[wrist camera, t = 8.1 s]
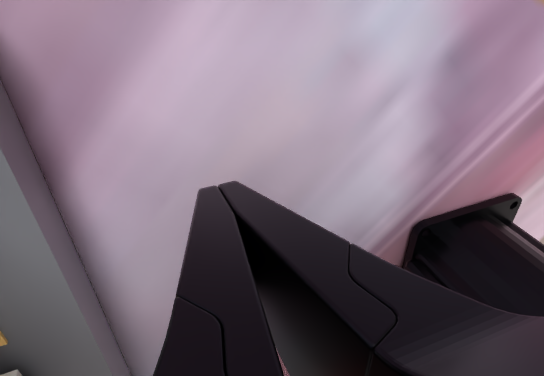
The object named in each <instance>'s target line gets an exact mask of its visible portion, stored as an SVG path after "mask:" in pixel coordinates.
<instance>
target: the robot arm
mask: <svg viewBox="0 0 544 376" xmlns="http://www.w3.org/2000/svg"><path fill="white" fill-rule="evenodd" d="M521 202H522V199H521V198H520V197H519V196H517V195H516V194H514V193H510V194H507V195H503V196H500V197H497V198H494V199H491V200H487V201H484V202H481V203H478V204H474V205H471V206H468V207H465V208H461V209H458V210H455V211H452V212H448V213H445V214H442V215H439V216H435V217H432V218H429V219H426V220H423V221H420V222H419V223H418V224H416V225H415V227H414V228H413V230H412V234H411V238H410V242H409V245H408V249H407V253H406V257H405V261H404V265H403V269H402V268H400V267H398V266H396V265H393V264H391V263H389V262H387V261H385V260H383V259H381V258H379V257H377V256H375V255H373V254H371V253H369V252H367V251H366V250H364V249H362V248H360V247H358V246H356V245H354V244H350V243H349V242H348V241H347V240H345V239H343V238H341V237H339V236H337V235H336V234H334V233H332V232H330V231H328V230H326V229H324V228H322V227H321V226H319V225H317V224H315V223H313V222H311V221H309V220H308V219H306V218H304V217H302V216H300V215H298V214H296V213H295V212H293V211H291V210H289V209H287V208H285V207H283V206H282V205H280V204H278V203H276V202H274V201H272V200H270V199H269V198H267V197H265V196H263V195H261V194H259V193H257V192H256V191H254V190H252V189H250V188H248V187H246V186H244V185H243V184H241V183H239V182H237V181H232V182H227V183H223V184H220V185H219V186H218V187H217V186H210V187H206V188H201V189H199V191H198V194H197V199H196V204H195V208H194V213H193V218H192V222H191V227H190V232H189V236H188V241H187V246H186V250H185V255H184V260H183V264H182V269H181V274H180V278H179V283H178V288H177V292H176V298H175V301H174V305H173V310H172V315H171V319H170V322H169V326H168V330H167V334H166V338H165V341H164V344H163V347H162V350H161V353H160V356H159V359H158V362H157V365H156V368H155V371H154V374H153V376H284V374H283V370H282V367H281V364H280V361H279V357H278V354H277V351H278V353H279V355H280V357H281V359H282V361H283V363H284V365H285V367H286V369H287V371H288V373H289V375H290V376H544V245H543V244H542V243H541V242H539V241H538V240H536V239H535V238H534V237H532V236H531V235H529V234H528V233H527V232H525V231H524V230H522V229H521V228H520V227H518V226H517V225H515V224H514V223H513V220H514V218H515V215H516V213H517V211H518V209H519V207H520V204H521ZM276 349H277V351H276Z"/></svg>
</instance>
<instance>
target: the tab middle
mask: <svg viewBox="0 0 544 376" xmlns="http://www.w3.org/2000/svg"><path fill="white" fill-rule="evenodd" d="M0 376H22V375H21V373H20V372H19V371H18V369H17V370H14V371H11V372H8V373H5V374H2V375H0Z"/></svg>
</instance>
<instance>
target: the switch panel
mask: <svg viewBox="0 0 544 376" xmlns="http://www.w3.org/2000/svg"><path fill="white" fill-rule="evenodd" d="M17 369H18V371H19V372H20V373H21V375H22V376H131V374H130V371H129V369H128V367H127V365H126V362H125V360H124V358H123V356H122V353H121V351H120V349H119V346H118V344H117V342H116V340H115V337H114V335H113V333H112V331H111V328H110V326H109V324H108V322H107V319H106V317H105V315H104V313H103V310H102V308H101V306H100V303H99V301H98V299H97V297H96V294H95V292H94V290H93V288H92V285H91V283H90V281H89V279H88V276H87V274H86V272H85V269H84V267H83V265H82V263H81V260H80V258H79V256H78V254H77V251H76V249H75V247H74V245H73V242H72V240H71V238H70V236H69V233H68V231H67V229H66V226H65V224H64V222H63V220H62V217H61V215H60V213H59V211H58V208H57V206H56V204H55V202H54V199H53V197H52V195H51V193H50V190H49V188H48V186H47V183H46V181H45V179H44V177H43V174H42V172H41V170H40V168H39V165H38V163H37V161H36V159H35V156H34V154H33V152H32V150H31V147H30V145H29V143H28V140H27V138H26V136H25V134H24V131H23V129H22V127H21V125H20V122H19V120H18V118H17V116H16V113H15V111H14V109H13V107H12V104H11V102H10V100H9V97H8V95H7V93H6V91H5V88H4V86H3V84H2V82H1V79H0V375H2V374H5V373H8V372H11V371H14V370H17Z"/></svg>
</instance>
